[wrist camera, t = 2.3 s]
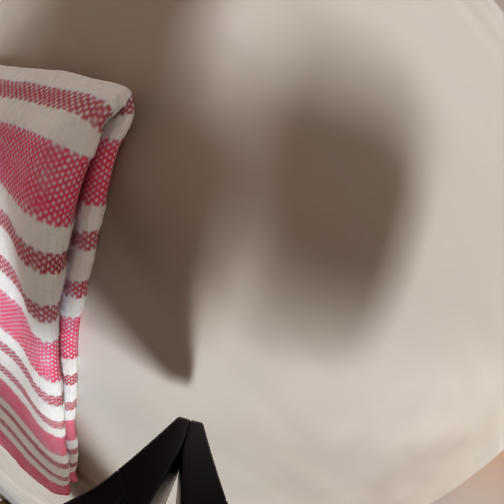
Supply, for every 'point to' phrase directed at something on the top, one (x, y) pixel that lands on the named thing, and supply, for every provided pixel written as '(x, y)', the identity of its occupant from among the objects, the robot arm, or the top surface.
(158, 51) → the top surface
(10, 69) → the dish towel
